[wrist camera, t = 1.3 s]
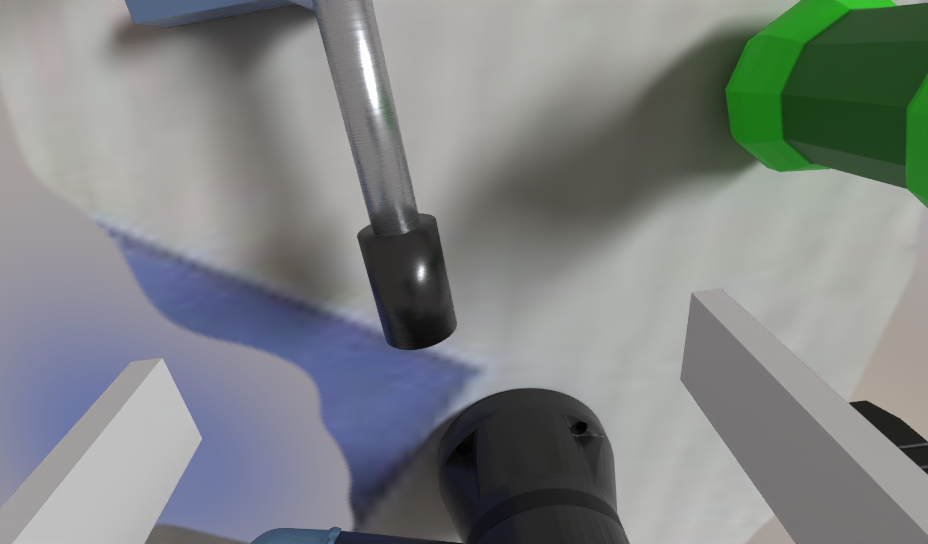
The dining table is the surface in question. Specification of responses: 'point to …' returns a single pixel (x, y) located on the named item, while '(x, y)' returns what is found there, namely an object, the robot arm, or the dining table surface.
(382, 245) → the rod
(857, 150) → the plastic bottle
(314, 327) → the dining table surface
